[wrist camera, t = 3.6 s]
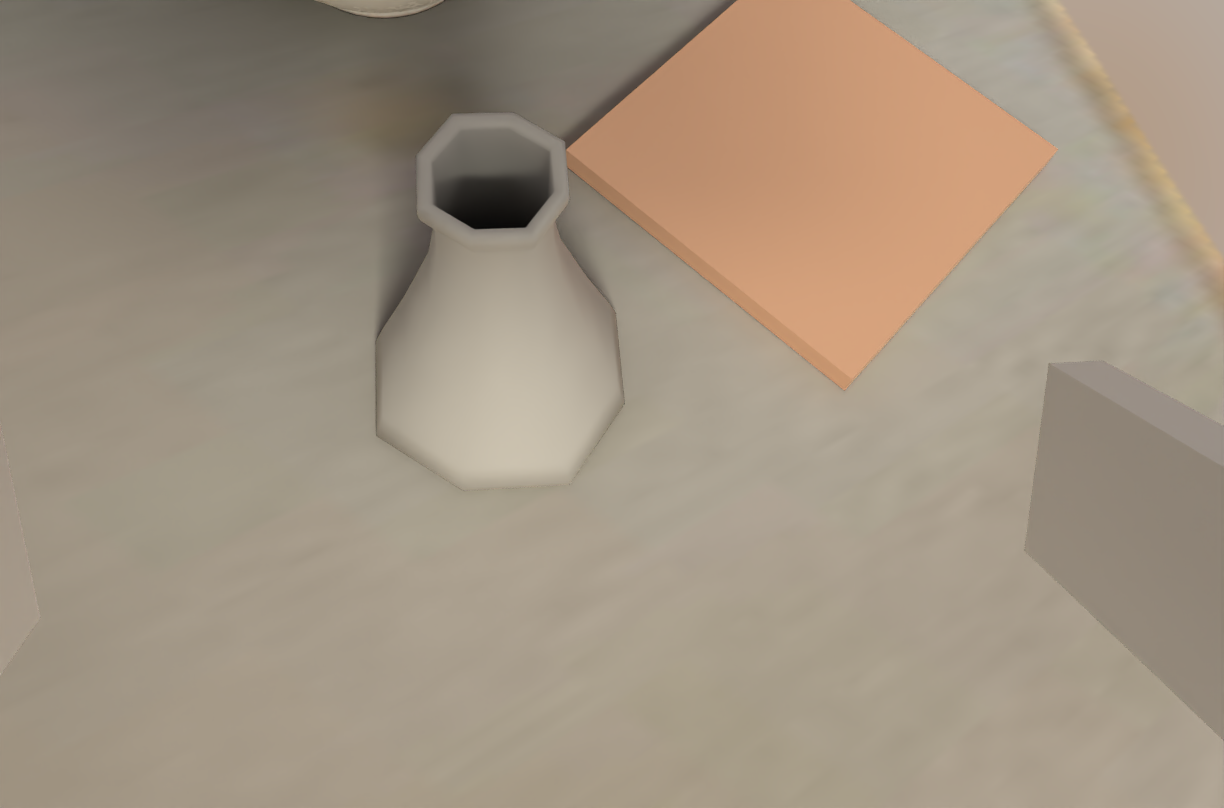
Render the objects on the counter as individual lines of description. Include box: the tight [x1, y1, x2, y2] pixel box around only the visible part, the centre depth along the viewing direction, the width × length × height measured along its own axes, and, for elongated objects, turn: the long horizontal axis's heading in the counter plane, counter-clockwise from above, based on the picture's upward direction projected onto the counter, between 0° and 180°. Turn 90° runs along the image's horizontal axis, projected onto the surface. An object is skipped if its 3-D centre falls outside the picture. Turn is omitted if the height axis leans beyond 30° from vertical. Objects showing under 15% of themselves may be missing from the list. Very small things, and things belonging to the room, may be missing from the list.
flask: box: [376, 112, 625, 491], centre depth 27 cm, size 7×7×10 cm
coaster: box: [566, 0, 1058, 391], centre depth 35 cm, size 11×11×1 cm
